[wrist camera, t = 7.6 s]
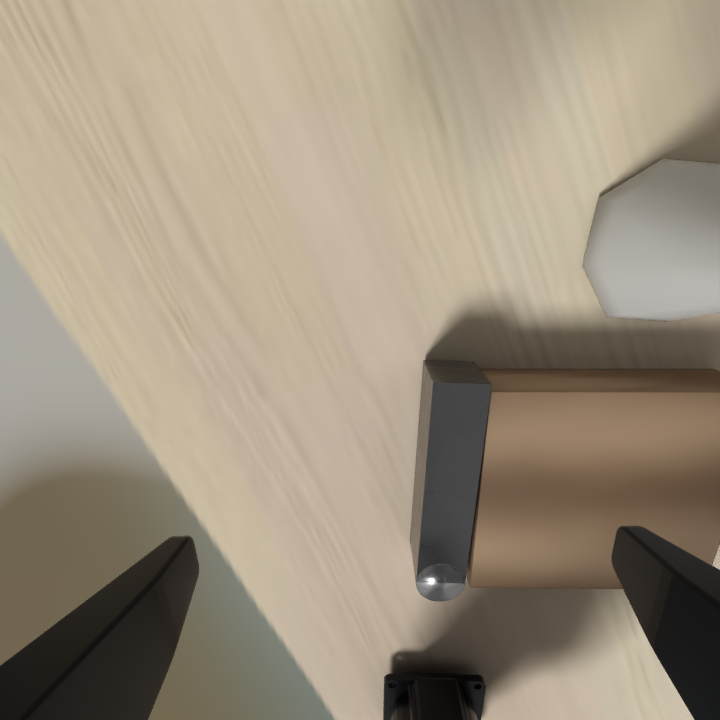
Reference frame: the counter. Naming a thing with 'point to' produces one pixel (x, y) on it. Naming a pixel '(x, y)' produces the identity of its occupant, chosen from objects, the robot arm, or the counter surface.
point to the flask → (658, 244)
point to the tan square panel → (593, 472)
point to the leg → (447, 474)
